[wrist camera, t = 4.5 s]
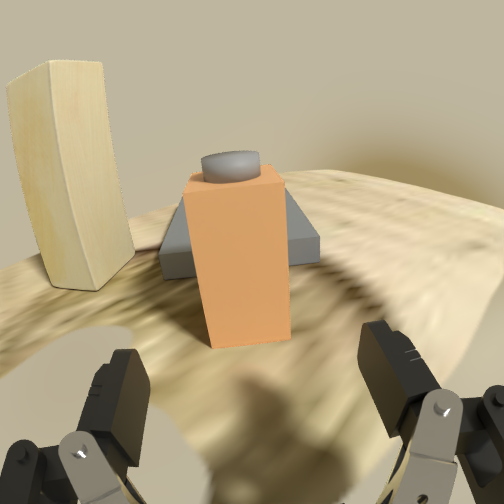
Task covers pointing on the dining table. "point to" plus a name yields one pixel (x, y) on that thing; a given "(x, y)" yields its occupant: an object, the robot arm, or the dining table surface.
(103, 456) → the robot arm
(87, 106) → the pale yellow tall block
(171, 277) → the frame
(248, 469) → the dining table surface
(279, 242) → the orange block with knob
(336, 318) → the dining table surface
